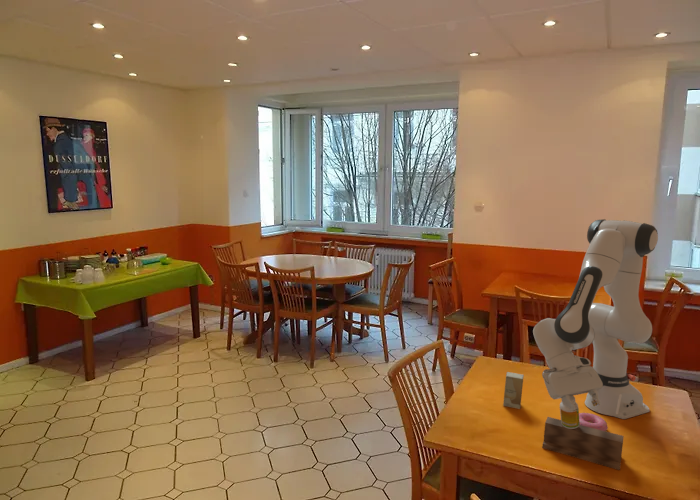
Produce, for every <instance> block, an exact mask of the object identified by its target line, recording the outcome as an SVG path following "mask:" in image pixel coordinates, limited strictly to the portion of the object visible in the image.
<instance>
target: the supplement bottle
mask: <svg viewBox="0 0 700 500" xmlns="http://www.w3.org/2000/svg"><path fill="white" fill-rule="evenodd" d="M570 400H571V401H572V402H573V403H574V404H575V403H576V405H577V407H578V410H576V411H571V410H570V408H569V406H568V405H566V404H565V403H564V402H563V401H562V400H561V401H560V403H559V412H560V420H561V423H562V425H563V426H564V427H565V428H568V429H575V428H578V427H579V425H580V421H579V413H580V412H579V411H580V410H579V404H578V403H577V402H576V397H575V395H574V396H572V395H571V396H570Z"/></svg>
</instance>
